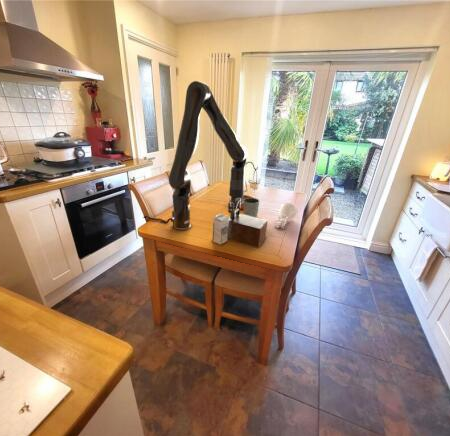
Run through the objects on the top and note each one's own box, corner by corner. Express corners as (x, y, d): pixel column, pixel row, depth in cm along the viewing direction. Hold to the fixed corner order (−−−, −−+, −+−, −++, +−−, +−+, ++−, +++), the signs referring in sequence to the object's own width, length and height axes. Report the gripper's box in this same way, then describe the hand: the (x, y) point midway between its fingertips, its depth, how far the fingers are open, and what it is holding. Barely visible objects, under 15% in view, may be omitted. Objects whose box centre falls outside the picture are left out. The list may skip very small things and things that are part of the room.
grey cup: (257, 221, 146) (258, 203, 141) (241, 219, 148) (242, 202, 143) (258, 215, 155) (260, 198, 150) (243, 213, 157) (244, 196, 152)
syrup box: (219, 237, 127) (220, 213, 121) (228, 241, 123) (229, 216, 117) (212, 241, 123) (212, 216, 117) (220, 245, 119) (221, 219, 113)
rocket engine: (281, 215, 132) (290, 200, 144) (266, 222, 140) (276, 207, 153) (293, 231, 134) (301, 214, 147) (277, 237, 142) (286, 220, 155)
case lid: (226, 221, 122) (227, 212, 119) (235, 213, 131) (236, 205, 129) (260, 230, 115) (261, 220, 113) (267, 221, 124) (268, 212, 122)
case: (227, 238, 126) (228, 222, 122) (236, 230, 135) (237, 214, 131) (258, 247, 119) (260, 230, 115) (265, 237, 129) (267, 221, 124)
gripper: (235, 182, 125) (234, 210, 133) (223, 189, 114) (222, 220, 121) (248, 184, 123) (246, 213, 130) (238, 192, 111) (235, 223, 118)
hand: (235, 216), depth 125 cm, fingers closed on case lid, 6 cm apart
